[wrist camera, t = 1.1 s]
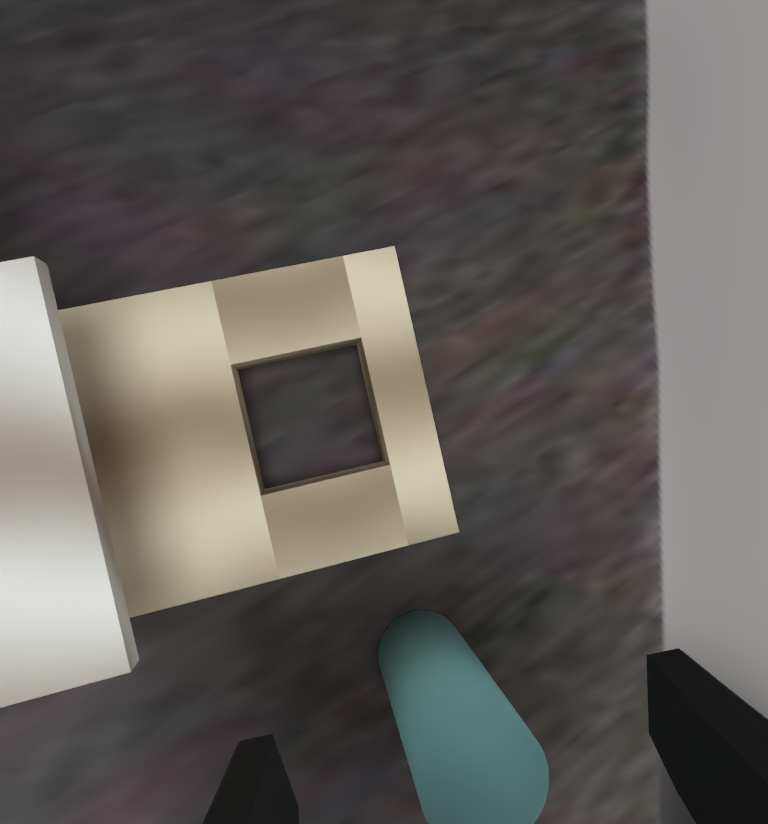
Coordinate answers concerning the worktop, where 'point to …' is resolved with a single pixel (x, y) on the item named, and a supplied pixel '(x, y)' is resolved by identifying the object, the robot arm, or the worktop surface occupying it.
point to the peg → (459, 728)
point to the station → (186, 454)
